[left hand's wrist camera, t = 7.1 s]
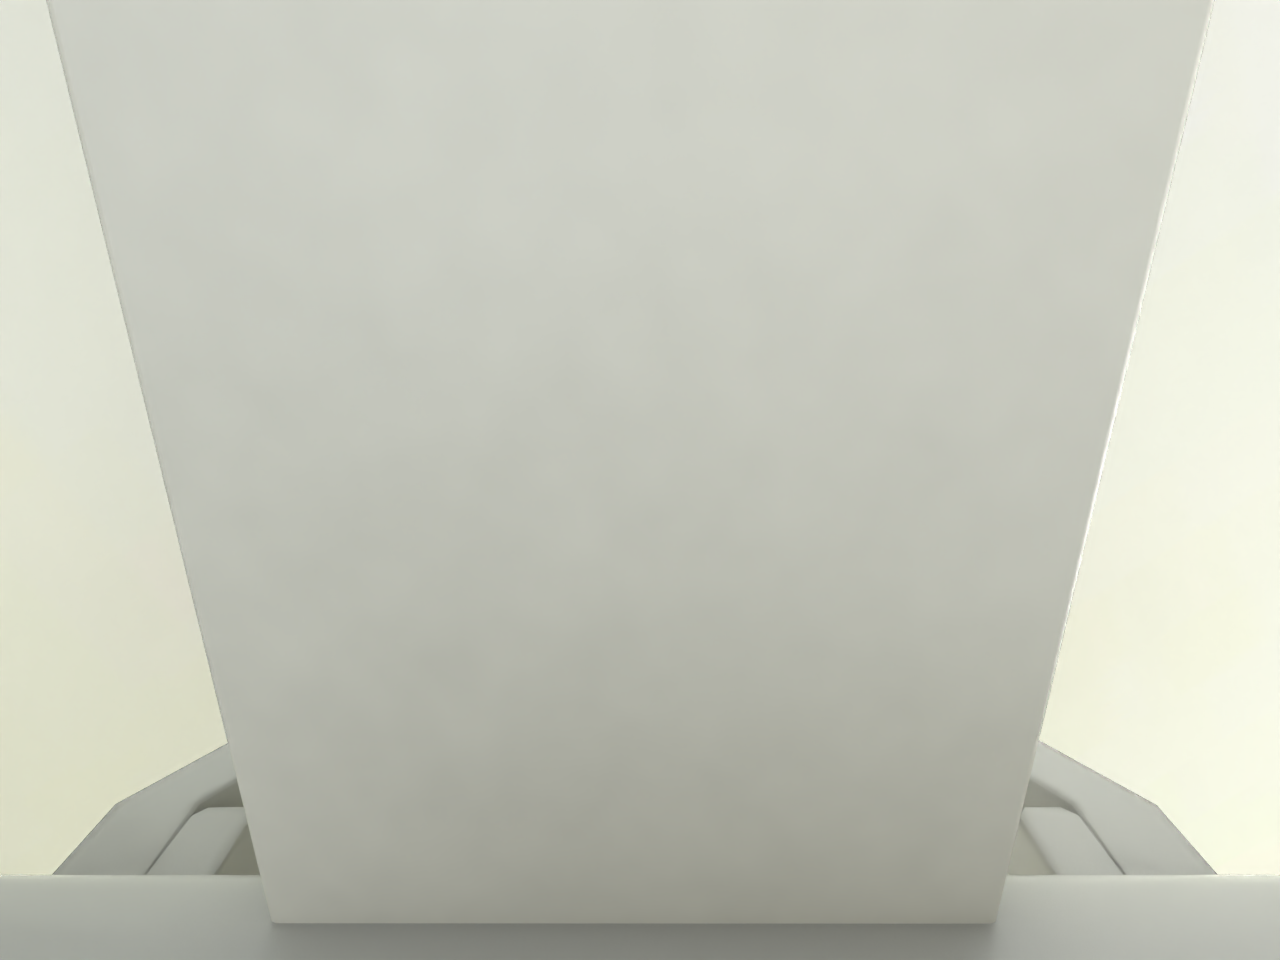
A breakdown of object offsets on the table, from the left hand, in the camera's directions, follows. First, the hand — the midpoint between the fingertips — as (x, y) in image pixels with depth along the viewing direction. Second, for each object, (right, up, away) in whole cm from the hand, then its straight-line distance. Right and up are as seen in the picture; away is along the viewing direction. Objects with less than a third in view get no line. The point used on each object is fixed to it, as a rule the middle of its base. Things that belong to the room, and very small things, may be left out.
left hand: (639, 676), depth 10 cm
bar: (0, +11, -1) cm, 11 cm away
